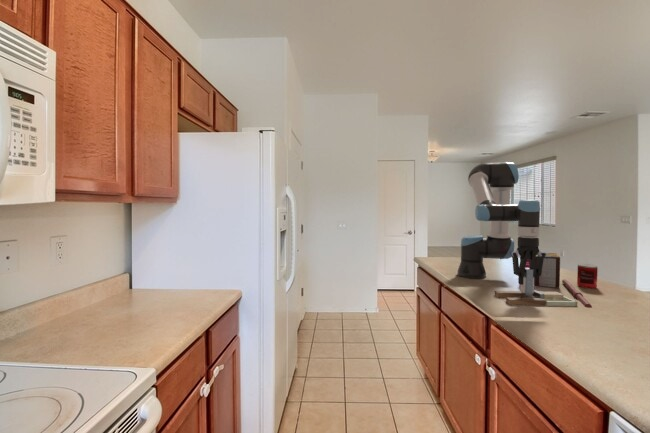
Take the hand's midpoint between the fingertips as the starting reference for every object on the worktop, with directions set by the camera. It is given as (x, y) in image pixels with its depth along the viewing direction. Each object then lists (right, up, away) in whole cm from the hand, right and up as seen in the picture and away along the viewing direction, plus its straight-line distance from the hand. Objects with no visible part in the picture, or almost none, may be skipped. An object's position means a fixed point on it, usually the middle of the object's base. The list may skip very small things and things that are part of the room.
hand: (526, 291), depth 133 cm
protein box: (+30, -4, +31) cm, 43 cm away
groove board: (-3, -5, 0) cm, 6 cm away
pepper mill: (+14, -4, +22) cm, 27 cm away
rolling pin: (+29, -5, +11) cm, 32 cm away
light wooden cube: (+11, -4, -1) cm, 12 cm away
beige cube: (+7, -4, 0) cm, 9 cm away
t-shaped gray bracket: (+2, -3, 0) cm, 4 cm away
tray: (+10, -5, 0) cm, 11 cm away
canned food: (+46, -4, +25) cm, 53 cm away
